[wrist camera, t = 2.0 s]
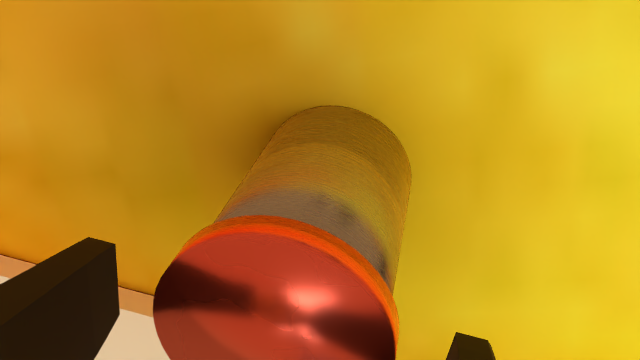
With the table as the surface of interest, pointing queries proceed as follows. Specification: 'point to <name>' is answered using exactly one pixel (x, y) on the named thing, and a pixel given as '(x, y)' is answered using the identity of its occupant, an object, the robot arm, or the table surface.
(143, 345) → the socket board
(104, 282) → the robot arm
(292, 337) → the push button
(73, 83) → the table surface
